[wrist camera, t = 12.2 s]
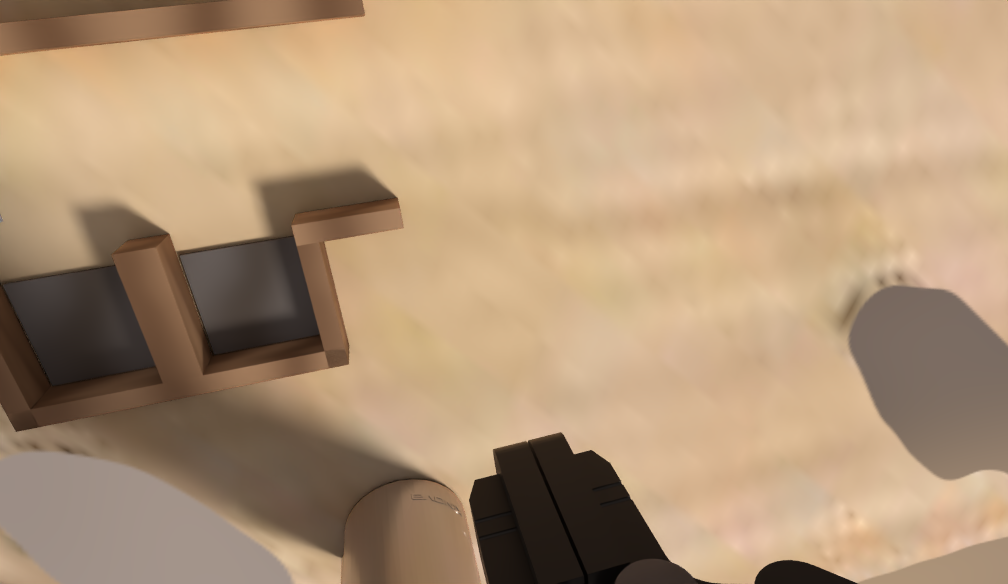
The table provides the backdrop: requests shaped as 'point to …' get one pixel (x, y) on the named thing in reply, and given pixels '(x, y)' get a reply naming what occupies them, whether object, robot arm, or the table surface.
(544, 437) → the robot arm
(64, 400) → the trap lane
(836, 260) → the table surface
